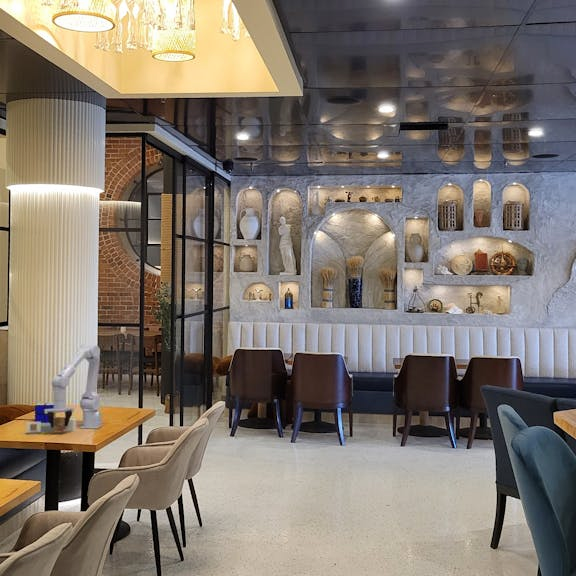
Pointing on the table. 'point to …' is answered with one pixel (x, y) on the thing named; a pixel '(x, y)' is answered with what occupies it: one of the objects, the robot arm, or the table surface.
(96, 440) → the table surface
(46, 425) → the base block
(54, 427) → the walnut block
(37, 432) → the cream-edged tan board
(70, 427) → the off-white block
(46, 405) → the puzzle cube
